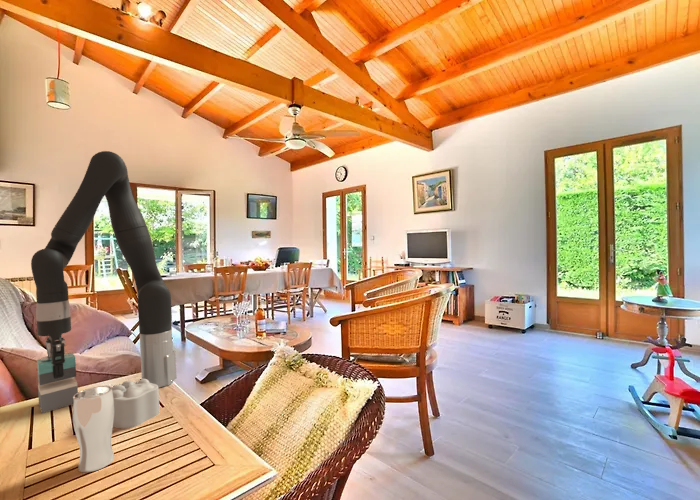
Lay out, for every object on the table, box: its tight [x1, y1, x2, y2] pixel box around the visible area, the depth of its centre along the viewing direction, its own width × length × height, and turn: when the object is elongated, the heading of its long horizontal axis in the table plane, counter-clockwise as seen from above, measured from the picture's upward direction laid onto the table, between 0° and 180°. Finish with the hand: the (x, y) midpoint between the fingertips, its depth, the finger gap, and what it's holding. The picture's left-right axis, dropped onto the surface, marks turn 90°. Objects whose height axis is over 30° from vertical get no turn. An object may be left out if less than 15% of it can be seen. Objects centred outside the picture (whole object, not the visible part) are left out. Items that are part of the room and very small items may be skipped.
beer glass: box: [72, 385, 115, 474], centre depth 72 cm, size 7×7×15 cm
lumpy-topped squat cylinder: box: [111, 378, 161, 430], centre depth 91 cm, size 10×13×9 cm
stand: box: [37, 377, 79, 414], centre depth 100 cm, size 8×8×6 cm
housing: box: [36, 352, 77, 385], centre depth 100 cm, size 5×8×7 cm, turn 136°
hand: (57, 374), depth 100 cm, fingers closed on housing, 5 cm apart
